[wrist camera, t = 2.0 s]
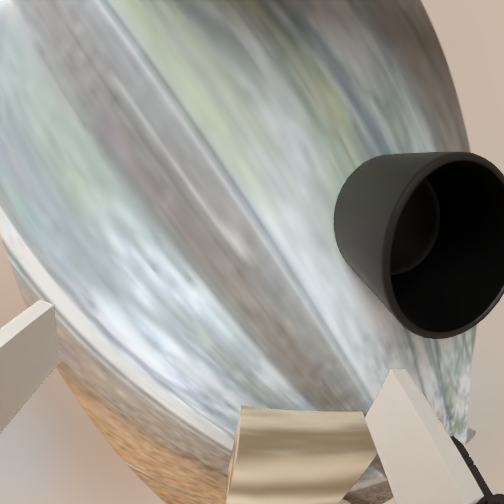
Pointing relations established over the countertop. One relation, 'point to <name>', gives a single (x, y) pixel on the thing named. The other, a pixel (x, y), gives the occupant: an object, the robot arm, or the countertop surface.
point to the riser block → (297, 456)
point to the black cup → (426, 237)
